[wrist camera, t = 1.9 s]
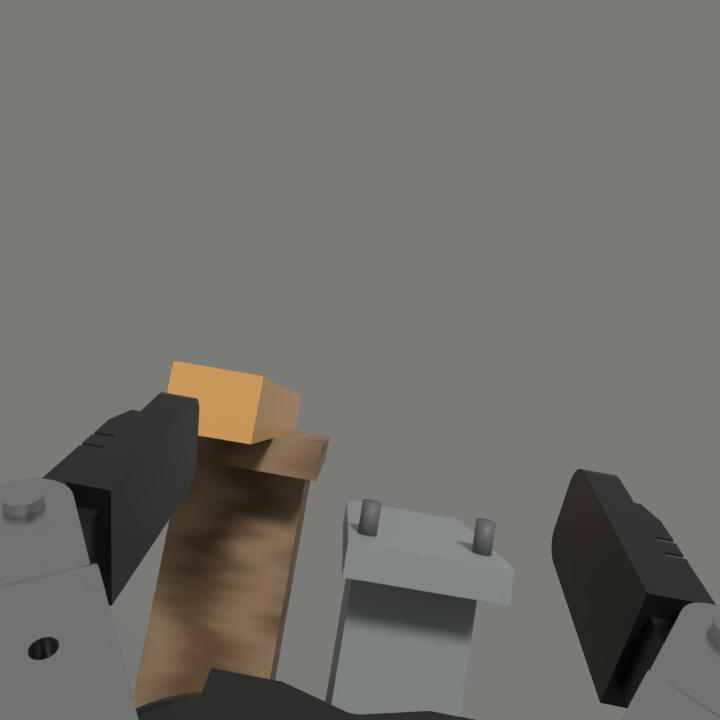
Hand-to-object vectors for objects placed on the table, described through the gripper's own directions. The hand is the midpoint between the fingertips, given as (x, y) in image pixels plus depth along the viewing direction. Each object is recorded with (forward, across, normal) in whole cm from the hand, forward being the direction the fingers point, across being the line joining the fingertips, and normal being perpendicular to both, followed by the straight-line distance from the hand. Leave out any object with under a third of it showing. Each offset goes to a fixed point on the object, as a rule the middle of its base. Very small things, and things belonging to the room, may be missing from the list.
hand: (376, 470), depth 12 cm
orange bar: (+20, +8, +12) cm, 25 cm away
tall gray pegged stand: (+11, -4, +42) cm, 44 cm away
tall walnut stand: (+10, +8, +42) cm, 44 cm away
